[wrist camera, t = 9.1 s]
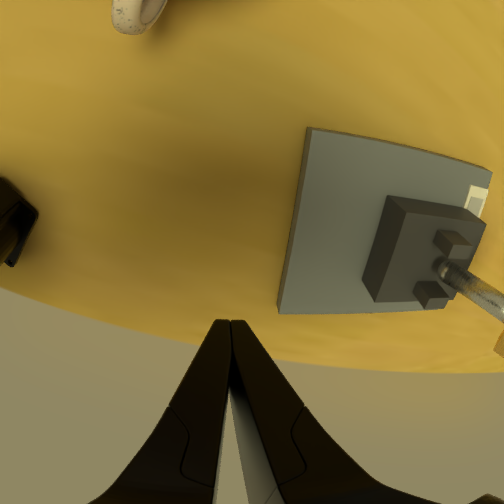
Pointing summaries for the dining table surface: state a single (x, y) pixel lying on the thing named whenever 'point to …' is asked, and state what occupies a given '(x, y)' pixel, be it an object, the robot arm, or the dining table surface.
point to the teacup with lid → (136, 15)
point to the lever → (475, 293)
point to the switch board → (378, 226)
